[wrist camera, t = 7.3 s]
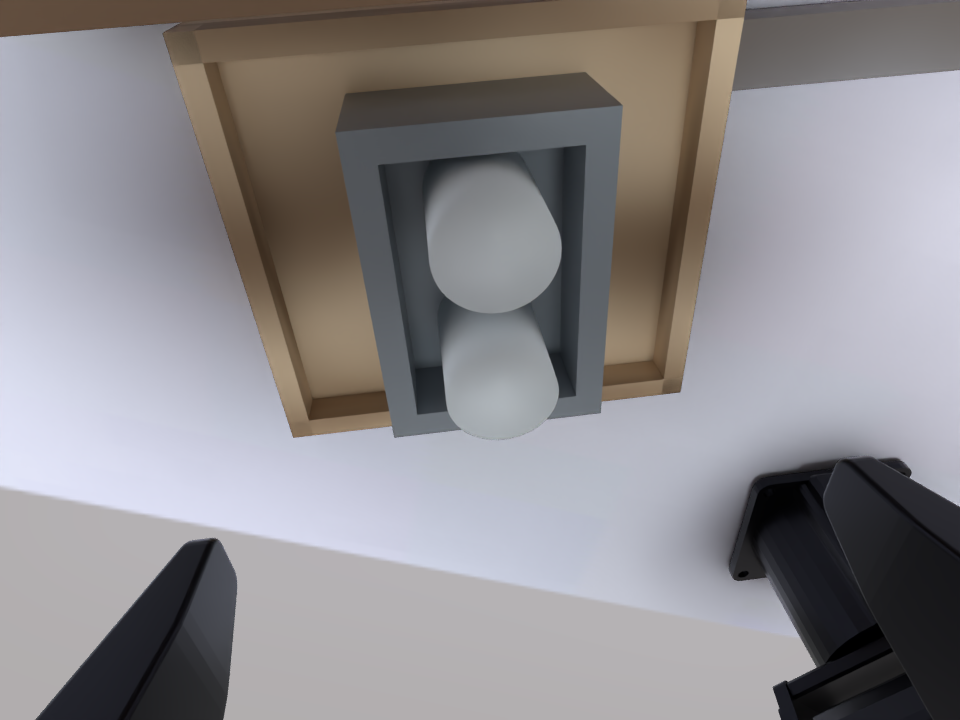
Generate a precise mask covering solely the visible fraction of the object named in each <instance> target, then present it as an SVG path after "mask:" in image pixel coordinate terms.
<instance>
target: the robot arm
mask: <svg viewBox="0 0 960 720" xmlns="http://www.w3.org/2000/svg"><path fill="white" fill-rule="evenodd" d="M910 476H911V470H910V469H909V467H908V466H907V465H906V464H905V463H904V462H902V461H893V462H885V463H882V462H880V461H879V460H877V459H875V458H873V457H870V456H856V457H848V458H843V459H841V460H839V461H838V462H837V463H836V465H835V468H834V469H829V470H821V471H813V472H805V473H797V474H789V475H781V476H773V477H766V478H762V479H761V480H759V481H757V482H756V483H755V484H754V486H753V488H752V492H751V495H750V499H749V502H748V505H747V509H746V512H745V516H744V519H743V522H742V526H741V529H740V533H739V536H738V539H737V543H736V546H735V550H734V553H733V556H732V560H731V563H730V567H729V571H730V573H731V575H732V577H733V579H734V580H737V581H743V580H750V579H758V578H765V577H767V578H768V580H769V581H770V583H771V585H772V587H773V589H774V591H775V592H776V594H777V596H778V598H779V600H780V601H781V603H782V605H783V607H784V609H785V611H786V612H787V614H788V616H789V618H790V620H791V621H792V623H793V625H794V627H795V629H796V630H797V632H798V634H799V636H800V638H801V640H802V641H803V643H804V645H805V647H806V648H807V650H808V652H809V654H810V656H811V658H812V659H813V661H814V663H815V665H816V667H817V668H815V669H813V670H812V671H810V672H807V673H805V674H803V675H802V676H799V677H797V678H795V679H793V680H792V681H789V682H787V681H783V682H781V683H779V684H777V685H775V686H773V690H774V693H775V696H776V699H777V702H778V705H779V708H780V709H779V710H778V711H779V714H780V717H781V720H960V507H959V506H957V505H956V504H954V503H952V502H950V501H949V500H947V499H945V498H943V497H942V496H940V495H938V494H936V493H935V492H933V491H931V490H929V489H928V488H926V487H924V486H922V485H921V484H919V483H917V482H915V481H914V480H912V479H910ZM236 595H237V577H236V573H235V570H234V568H233V566H232V564H231V562H230V560H229V558H228V556H227V554H226V552H225V550H224V547H223V545H222V544H221V542H220V541H219V540H218V539H216V538H208V539H200V540H192V541H189V542H187V543H185V544H184V545H183V546H182V547H181V548H180V549H179V550H178V552H177V553H176V554H175V555H174V556H173V558H172V559H171V560H170V561H169V562H168V563H167V565H166V566H165V567H164V568H163V569H162V571H161V572H160V573H159V574H158V575H157V576H156V578H155V579H154V580H153V581H152V582H151V584H150V585H149V586H148V587H147V588H146V590H145V591H144V592H143V593H142V594H141V595H140V597H139V598H138V599H137V600H136V601H135V602H134V604H133V605H132V606H131V607H130V608H129V610H128V611H127V612H126V613H125V614H124V615H123V617H122V618H121V619H120V620H119V621H118V623H117V624H116V625H115V626H114V627H113V628H112V630H111V631H110V632H109V633H108V634H107V636H106V637H105V638H104V639H103V640H102V641H101V643H100V644H99V645H98V646H97V648H96V649H95V650H94V651H93V652H92V653H91V654H90V656H89V657H88V658H87V659H86V660H85V662H84V663H83V664H82V665H81V666H80V668H79V669H78V670H77V671H76V672H75V674H74V675H73V676H72V677H71V678H70V679H69V681H68V682H67V683H66V684H65V685H64V687H63V688H62V689H61V690H60V691H59V692H58V694H57V695H56V696H55V697H54V699H52V701H51V702H50V703H49V704H48V705H47V707H46V708H45V709H44V710H43V711H42V712H41V714H40V715H39V716H38V717H37V718H36V720H223V718H224V712H225V706H226V701H227V695H228V686H229V676H230V665H231V664H230V663H231V653H232V642H233V630H234V617H235V607H236Z"/></svg>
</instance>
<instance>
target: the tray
mask: <svg viewBox="0 0 960 720" xmlns="http://www.w3.org/2000/svg"><path fill="white" fill-rule="evenodd" d="M622 111H623V105H622V104H621V103H620V102H619V101H617V100H616V99H615V98H614V97H613V96H612V95H611V94H610V93H608V92H607V91H606V90H605V89H604V88H603V87H602V86H601V85H599V84H598V83H597V82H596V81H595V80H594V79H593V78H592V77H591V76H589V75H588V74H587V73H586V72H580V73H569V74H558V75H547V76H536V77H524V78H513V79H502V80H491V81H480V82H469V83H458V84H447V85H436V86H425V87H414V88H402V89H391V90H380V91H369V92H358V93H347V94H345V96H344V100H343V104H342V108H341V112H340V116H339V119H338V123H337V127H336V131H335V134H336V139H337V144H338V150H339V155H340V160H341V165H342V170H343V175H344V181H345V186H346V191H347V196H348V201H349V206H350V211H351V217H352V222H353V227H354V232H355V237H356V242H357V248H358V253H359V258H360V263H361V268H362V273H363V279H364V284H365V289H366V294H367V299H368V304H369V310H370V315H371V320H372V325H373V330H374V335H375V340H376V346H377V351H378V356H379V361H380V366H381V371H382V377H383V382H384V387H385V392H386V397H387V402H388V408H389V413H390V418H391V423H392V428H393V433H394V438H396V437H404V436H412V435H421V434H429V433H438V432H446V431H454V430H463V431H465V432H466V433H468V434H470V435H473V436H476V437H479V438H483V439H490V440H503V439H510V438H514V437H518V436H521V435H524V434H526V433H528V432H530V431H532V430H534V429H535V428H537V427H538V426H540V425H541V424H542V423H543V422H544V421H545V420H546V419H555V418H563V417H572V416H580V415H588V414H597V413H601V400H602V386H603V373H604V359H605V345H606V331H607V318H608V304H609V290H610V276H611V263H612V249H613V235H614V221H615V208H616V194H617V180H618V166H619V153H620V139H621V125H622Z"/></svg>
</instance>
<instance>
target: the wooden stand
mask: <svg viewBox="0 0 960 720" xmlns="http://www.w3.org/2000/svg"><path fill="white" fill-rule="evenodd" d="M435 1H448V0H0V37H6V36H19V35H31V34H43V33H55V32H68V31H80V30H92V29H104V28H117V27H129V26H141V25H153V24H166V23H178V22H190V21H202V20H215V19H227V18H239V17H251V16H264V15H276V14H288V13H300V12H313V11H325V10H337V9H350V8H362V7H374V6H386V5H399V4H411V3H423V2H435Z"/></svg>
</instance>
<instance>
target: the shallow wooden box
mask: <svg viewBox="0 0 960 720" xmlns="http://www.w3.org/2000/svg"><path fill="white" fill-rule="evenodd" d="M746 4H747V0H448V1H435V2H423V3H411V4H399V5H386V6H374V7H362V8H350V9H337V10H325V11H313V12H300V13H288V14H276V15H264V16H251V17H239V18H227V19H215V20H202V21H190V22H181V23H180V24H178V25H176V26H174V27H172V28H171V29H169V30H167V31H165V32H164V33H163V37H164V40H165V43H166V46H167V49H168V52H169V55H170V58H171V61H172V64H173V67H174V71H175V74H176V77H177V80H178V83H179V86H180V89H181V92H182V95H183V98H184V101H185V105H186V108H187V111H188V114H189V117H190V120H191V123H192V126H193V129H194V132H195V135H196V139H197V142H198V145H199V148H200V151H201V154H202V157H203V160H204V163H205V166H206V169H207V173H208V176H209V179H210V182H211V185H212V188H213V191H214V194H215V197H216V200H217V203H218V207H219V210H220V213H221V216H222V219H223V222H224V225H225V228H226V231H227V234H228V237H229V241H230V244H231V247H232V250H233V253H234V256H235V259H236V262H237V265H238V268H239V271H240V275H241V278H242V281H243V284H244V287H245V290H246V293H247V296H248V299H249V302H250V305H251V309H252V312H253V315H254V318H255V321H256V324H257V327H258V330H259V333H260V336H261V339H262V343H263V346H264V349H265V352H266V355H267V358H268V361H269V364H270V367H271V370H272V373H273V377H274V380H275V383H276V386H277V389H278V392H279V395H280V398H281V401H282V404H283V407H284V411H285V414H286V417H287V420H288V423H289V426H290V429H291V432H292V435H293V438H295V437H303V436H312V435H320V434H329V433H337V432H346V431H354V430H363V429H372V428H380V427H389V426H392V423H391V418H390V413H389V408H388V402H387V397H386V392H385V387H384V382H383V377H382V371H381V366H380V361H379V356H378V351H377V346H376V340H375V335H374V330H373V325H372V320H371V315H370V310H369V304H368V299H367V294H366V289H365V284H364V279H363V273H362V268H361V263H360V258H359V253H358V248H357V242H356V237H355V232H354V227H353V222H352V217H351V211H350V206H349V201H348V196H347V191H346V186H345V181H344V175H343V170H342V165H341V160H340V155H339V150H338V144H337V139H336V134H335V131H336V127H337V123H338V119H339V116H340V112H341V108H342V104H343V100H344V96H345V94H347V93H358V92H369V91H380V90H391V89H402V88H414V87H425V86H436V85H447V84H458V83H469V82H480V81H491V80H502V79H513V78H524V77H536V76H547V75H558V74H569V73H580V72H586V73H587V74H588V75H589V76H591V77H592V78H593V79H594V80H595V81H596V82H597V83H598V84H599V85H601V86H602V87H603V88H604V89H605V90H606V91H607V92H608V93H610V94H611V95H612V96H613V97H614V98H615V99H616V100H617V101H619V102H620V103H621V104H622V105H623V111H622V125H621V139H620V153H619V166H618V180H617V194H616V208H615V221H614V235H613V249H612V263H611V276H610V290H609V304H608V318H607V331H606V345H605V359H604V373H603V386H602V400H601V402H602V401H610V400H619V399H627V398H636V397H644V396H653V395H661V394H670V393H679V392H680V391H681V385H682V379H683V373H684V367H685V362H686V356H687V350H688V344H689V338H690V332H691V326H692V321H693V315H694V309H695V303H696V297H697V291H698V285H699V280H700V274H701V268H702V262H703V256H704V250H705V244H706V239H707V233H708V227H709V221H710V215H711V209H712V203H713V198H714V192H715V186H716V180H717V174H718V168H719V162H720V157H721V151H722V145H723V139H724V133H725V127H726V121H727V115H728V110H729V104H730V98H731V92H732V91H735V90H746V89H757V88H768V87H779V86H790V85H801V84H812V83H823V82H834V81H845V80H856V79H867V78H877V77H888V76H899V75H910V74H921V73H932V72H943V71H954V70H960V0H860V1H848V2H836V3H824V4H812V5H801V6H789V7H777V8H765V9H753V10H746Z"/></svg>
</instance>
